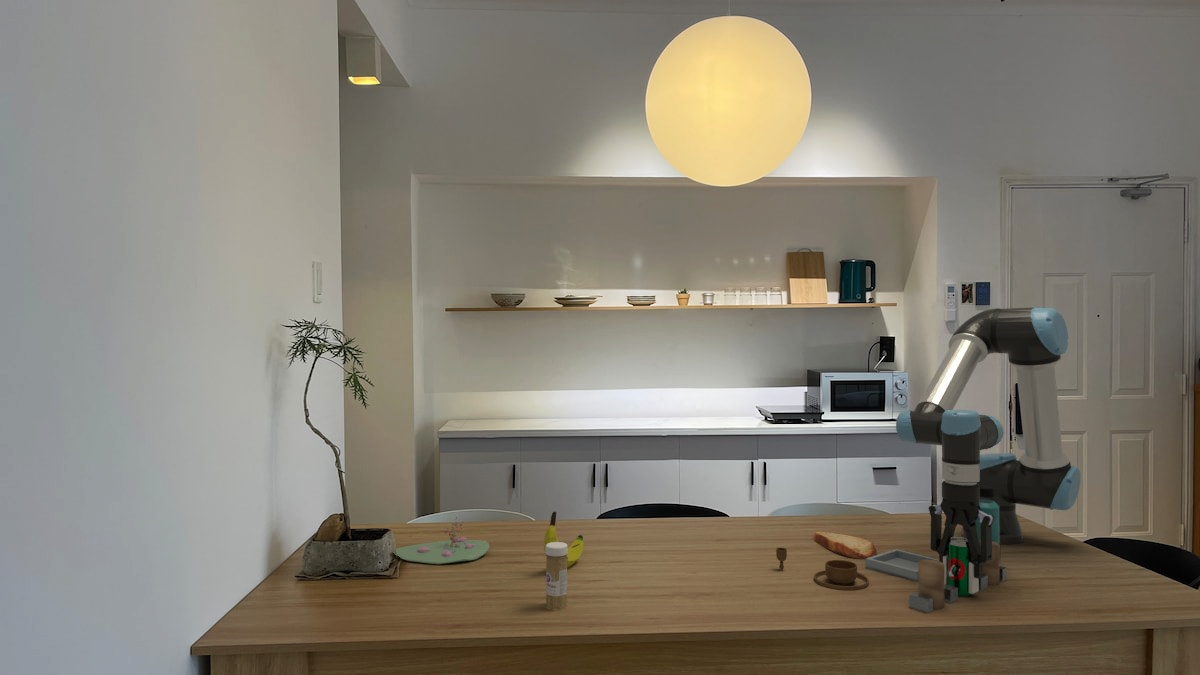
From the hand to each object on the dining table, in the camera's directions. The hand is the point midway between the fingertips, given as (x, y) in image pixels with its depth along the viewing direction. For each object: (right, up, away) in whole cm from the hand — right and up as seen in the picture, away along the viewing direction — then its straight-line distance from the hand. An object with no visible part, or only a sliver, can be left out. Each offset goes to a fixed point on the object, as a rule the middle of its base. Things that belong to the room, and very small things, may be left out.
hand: (960, 588), depth 168 cm
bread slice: (-14, -2, +36) cm, 39 cm away
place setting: (-25, -2, +11) cm, 28 cm away
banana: (-87, -2, +19) cm, 89 cm away
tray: (-5, -1, +17) cm, 18 cm away
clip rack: (0, -1, 0) cm, 1 cm away
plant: (-120, -2, +35) cm, 125 cm away
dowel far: (+9, -1, +7) cm, 12 cm away
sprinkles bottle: (-87, -2, -8) cm, 88 cm away
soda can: (0, -1, 0) cm, 1 cm away
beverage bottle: (+14, -1, +17) cm, 22 cm away
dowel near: (-10, -1, -7) cm, 12 cm away
